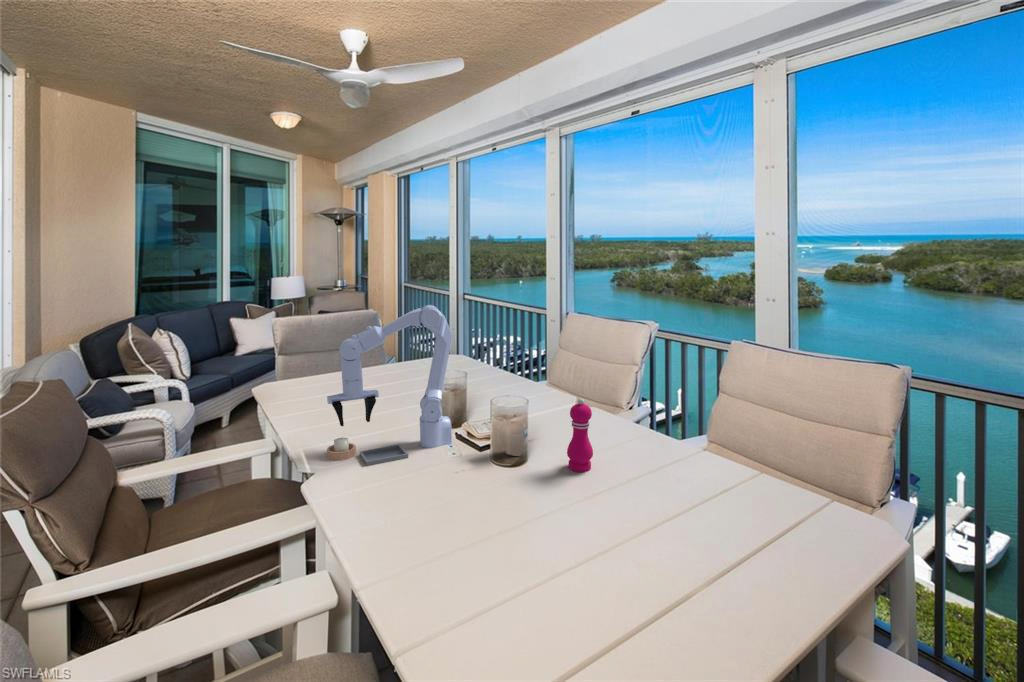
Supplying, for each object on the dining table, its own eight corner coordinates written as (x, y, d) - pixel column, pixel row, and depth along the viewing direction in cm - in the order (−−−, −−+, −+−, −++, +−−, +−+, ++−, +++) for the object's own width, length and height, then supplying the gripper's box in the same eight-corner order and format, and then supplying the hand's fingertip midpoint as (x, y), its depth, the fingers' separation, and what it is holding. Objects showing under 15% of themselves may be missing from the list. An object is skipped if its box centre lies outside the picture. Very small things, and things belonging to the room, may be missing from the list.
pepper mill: (595, 464, 139) (597, 396, 136) (588, 474, 132) (590, 403, 129) (571, 460, 142) (572, 394, 139) (563, 470, 135) (564, 400, 132)
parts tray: (399, 450, 150) (399, 444, 149) (408, 460, 142) (408, 453, 142) (359, 457, 144) (359, 451, 144) (366, 468, 136) (366, 462, 136)
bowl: (352, 450, 150) (352, 441, 149) (358, 459, 143) (357, 449, 142) (325, 455, 146) (325, 445, 145) (330, 464, 139) (329, 454, 138)
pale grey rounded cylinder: (347, 452, 147) (346, 436, 146) (350, 456, 143) (349, 440, 143) (333, 454, 145) (332, 439, 144) (336, 459, 141) (335, 443, 141)
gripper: (373, 373, 151) (375, 415, 154) (324, 379, 144) (327, 423, 146) (379, 378, 145) (381, 421, 148) (328, 384, 138) (331, 430, 140)
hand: (355, 423), depth 147 cm, fingers open, 7 cm apart
